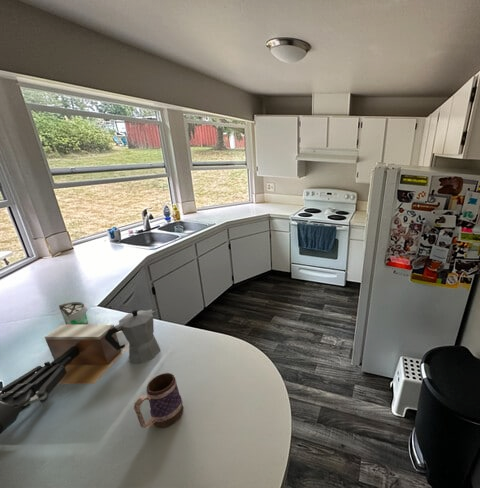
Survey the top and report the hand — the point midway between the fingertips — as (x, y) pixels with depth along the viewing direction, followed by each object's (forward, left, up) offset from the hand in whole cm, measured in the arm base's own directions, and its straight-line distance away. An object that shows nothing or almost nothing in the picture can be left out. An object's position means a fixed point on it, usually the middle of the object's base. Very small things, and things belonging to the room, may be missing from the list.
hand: (76, 350), depth 78 cm
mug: (+35, -18, -7) cm, 40 cm away
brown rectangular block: (0, +3, -6) cm, 7 cm away
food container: (-16, +19, -7) cm, 26 cm away
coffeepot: (+16, +4, -7) cm, 18 cm away
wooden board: (0, +5, -7) cm, 9 cm away
